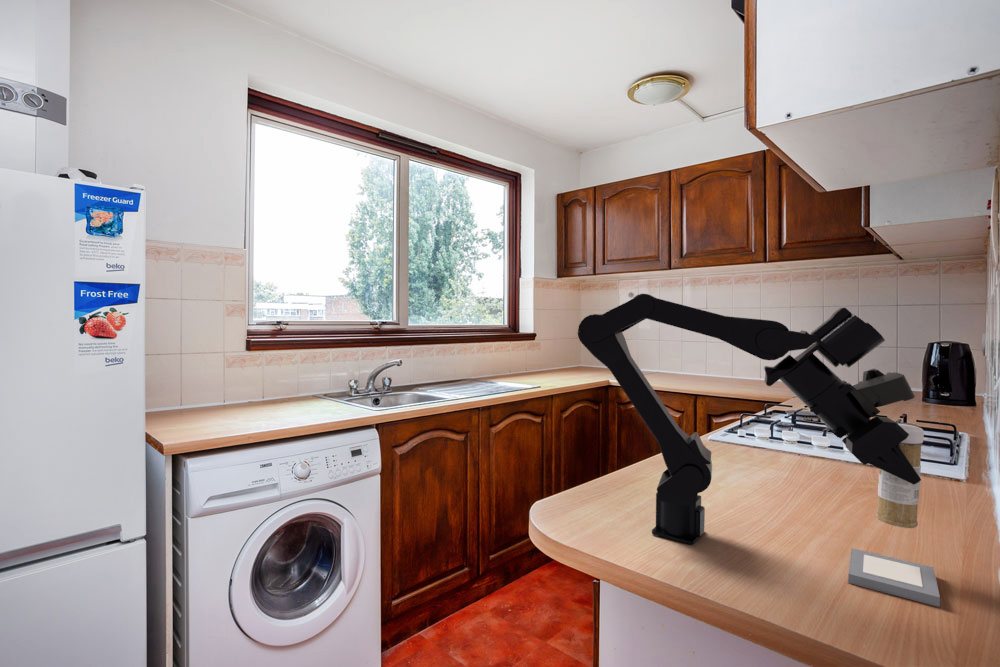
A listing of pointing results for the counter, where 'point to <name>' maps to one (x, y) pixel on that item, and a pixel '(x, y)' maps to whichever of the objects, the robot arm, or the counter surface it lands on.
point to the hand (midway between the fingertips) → (911, 476)
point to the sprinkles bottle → (901, 485)
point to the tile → (894, 576)
